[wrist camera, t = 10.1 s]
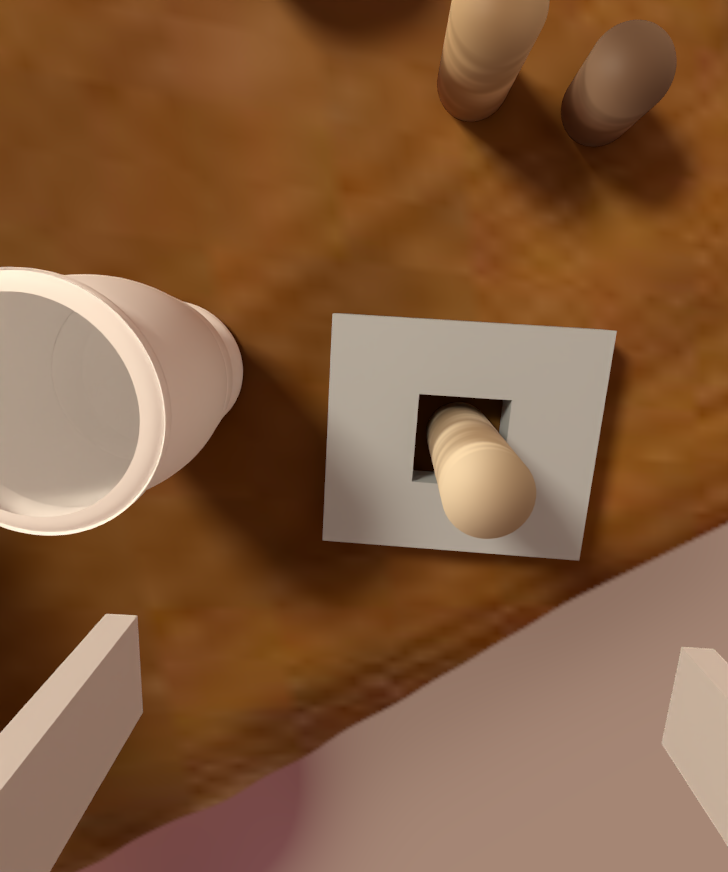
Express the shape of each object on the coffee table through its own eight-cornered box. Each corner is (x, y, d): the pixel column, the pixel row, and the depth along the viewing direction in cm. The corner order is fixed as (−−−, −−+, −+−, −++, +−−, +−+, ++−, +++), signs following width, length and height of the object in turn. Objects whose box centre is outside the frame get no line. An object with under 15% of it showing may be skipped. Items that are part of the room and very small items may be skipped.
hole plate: (327, 525, 37) (322, 540, 34) (337, 313, 34) (332, 313, 31) (566, 543, 36) (579, 560, 34) (600, 329, 33) (616, 330, 31)
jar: (263, 290, 34) (162, 276, 19) (258, 452, 36) (165, 550, 21) (94, 277, 34) (-131, 254, 19) (101, 438, 36) (-96, 525, 22)
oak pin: (434, 119, 31) (447, 56, 23) (440, 39, 30) (456, -55, 22) (505, 123, 31) (542, 60, 23) (513, 42, 30) (556, -52, 22)
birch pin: (423, 460, 35) (437, 535, 24) (428, 399, 35) (445, 446, 23) (485, 465, 35) (529, 542, 24) (492, 404, 34) (542, 453, 23)
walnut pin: (574, 159, 31) (601, 132, 26) (550, 88, 30) (574, 47, 25) (646, 125, 30) (687, 91, 25) (623, 52, 29) (661, 2, 25)
